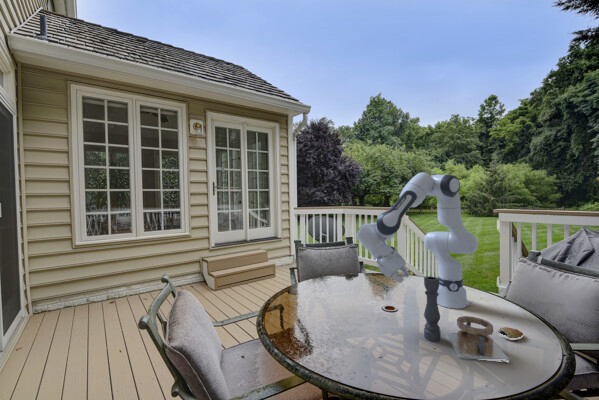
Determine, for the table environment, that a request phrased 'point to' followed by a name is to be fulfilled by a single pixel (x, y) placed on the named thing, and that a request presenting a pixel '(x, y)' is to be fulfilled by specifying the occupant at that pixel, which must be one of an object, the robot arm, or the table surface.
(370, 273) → the table surface
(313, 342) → the table surface
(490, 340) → the collar stand
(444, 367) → the table surface
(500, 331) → the pastry
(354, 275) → the table surface
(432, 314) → the candle holder
